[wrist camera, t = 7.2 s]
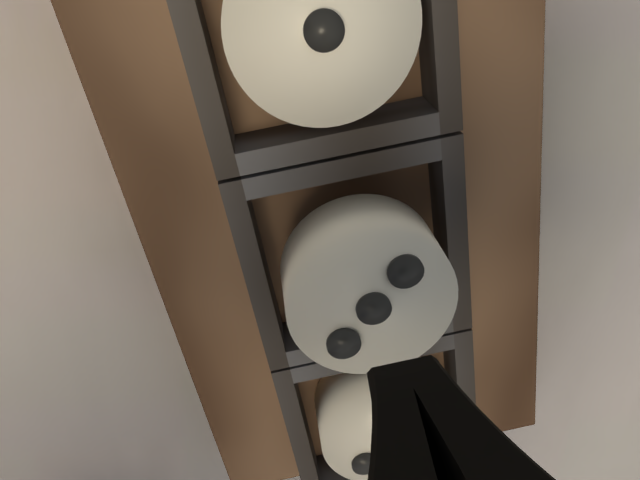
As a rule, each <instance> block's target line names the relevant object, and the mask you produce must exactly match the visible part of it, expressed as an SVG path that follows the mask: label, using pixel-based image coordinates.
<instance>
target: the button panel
mask: <svg viewBox="0 0 640 480" xmlns="http://www.w3.org/2000/svg"><path fill="white" fill-rule="evenodd" d="M51 3H52V5H53V8H54V11H55V13H56V16H57V19H58V21H59V24H60V27H61V29H62V32H63V35H64V38H65V40H66V43H67V46H68V48H69V51H70V54H71V56H72V59H73V62H74V64H75V67H76V70H77V72H78V75H79V78H80V80H81V83H82V86H83V88H84V91H85V94H86V96H87V99H88V102H89V104H90V107H91V110H92V112H93V115H94V118H95V120H96V123H97V126H98V128H99V131H100V134H101V136H102V139H103V142H104V144H105V147H106V150H107V152H108V155H109V158H110V160H111V163H112V166H113V168H114V171H115V174H116V176H117V179H118V182H119V184H120V187H121V190H122V192H123V195H124V198H125V200H126V203H127V206H128V208H129V211H130V214H131V216H132V219H133V222H134V225H135V227H136V230H137V233H138V235H139V238H140V241H141V243H142V246H143V249H144V251H145V254H146V257H147V259H148V262H149V265H150V267H151V270H152V273H153V275H154V278H155V281H156V283H157V286H158V289H159V291H160V294H161V297H162V299H163V302H164V305H165V307H166V310H167V313H168V315H169V318H170V321H171V323H172V326H173V329H174V331H175V334H176V337H177V339H178V342H179V345H180V347H181V350H182V353H183V355H184V358H185V361H186V363H187V366H188V369H189V371H190V374H191V377H192V379H193V382H194V385H195V387H196V390H197V393H198V395H199V398H200V401H201V403H202V406H203V409H204V412H205V414H206V417H207V420H208V422H209V425H210V428H211V430H212V433H213V436H214V438H215V441H216V444H217V446H218V449H219V452H220V454H221V457H222V460H223V462H224V465H225V468H226V470H227V473H228V476H229V478H230V480H283V479H287V478H292V477H296V476H300V479H301V480H350V479H347V478H345V477H343V476H341V475H339V474H338V473H336V472H335V471H334V470H333V469H332V468H331V467H330V466H329V465H328V464H327V462H326V460H325V459H324V456H323V453H322V448H321V441H320V435H319V429H318V422H317V416H316V410H315V403H314V396H315V391H316V388H317V385H318V383H319V381H320V379H321V378H323V377H327V376H332V375H337V374H341V373H343V372H339V371H335V370H331V369H329V368H326V367H324V366H322V365H320V364H318V363H316V362H314V361H313V360H311V359H310V358H309V357H307V356H306V355H305V354H304V353H303V352H302V351H301V350H300V349H299V348H298V346H297V345H296V344H295V342H294V340H293V338H292V337H291V335H290V332H289V329H288V326H287V321H286V315H285V307H284V298H283V290H282V282H281V274H280V263H281V257H282V253H283V249H284V246H285V244H286V242H287V240H288V237H289V236H290V234H291V233H292V231H293V230H294V228H295V227H296V226H297V225H298V224H299V222H300V221H301V220H302V219H304V218H305V217H306V216H307V215H308V214H309V213H311V212H312V211H313V210H315V209H316V208H318V207H320V206H321V205H323V204H325V203H327V202H330V201H332V200H335V199H337V198H341V197H344V196H349V195H356V194H376V195H383V196H387V197H391V198H393V199H396V200H399V201H401V202H403V203H404V204H406V205H408V206H409V207H411V208H412V209H413V210H415V211H416V212H417V213H418V214H419V215H420V216H421V217H422V218H423V220H424V221H425V223H426V224H427V225H428V227H429V229H430V230H431V232H432V234H433V235H434V237H435V239H436V240H437V242H438V243H439V245H440V247H441V248H442V250H443V252H444V253H445V255H446V257H447V258H448V260H449V261H450V263H451V265H452V267H453V269H454V271H455V275H456V278H457V283H458V302H457V308H456V311H455V314H454V317H453V319H452V321H451V323H450V325H449V327H448V328H447V330H446V331H445V333H444V334H443V335H442V337H441V338H440V339H439V340H438V341H437V342H436V343H435V344H434V345H433V346H432V347H431V348H430V349H429V350H427V351H426V352H425V353H424V354H422V355H421V356H419V357H423V356H428V355H432V356H433V357H435V358H437V360H438V361H439V362H440V364H441V365H442V366H443V368H444V369H445V370H446V371H447V373H448V374H449V375H450V376H451V377H452V379H453V380H454V381H455V382H456V383H457V385H458V386H459V387H460V388H461V389H462V390H463V391H464V392H465V394H466V395H467V396H468V397H469V398H470V399H471V400H472V401H473V402H474V403H475V405H476V406H477V407H478V408H479V409H480V410H481V411H482V412H483V413H484V414H485V415H486V416H487V417H488V418H489V419H490V420H491V421H492V422H493V423H494V424H495V425H496V426H497V427H498V428H499V429H500V430H501V431H506V430H511V429H515V428H520V427H524V426H529V425H533V424H535V397H536V356H537V316H538V276H539V235H540V195H541V154H542V114H543V74H544V33H545V0H421V7H422V31H421V39H420V43H419V48H418V52H417V54H416V57H415V60H414V63H413V65H412V67H411V69H410V71H409V73H408V75H407V77H406V78H405V80H404V81H403V83H402V84H401V86H400V87H399V88H398V89H397V91H396V92H395V93H394V94H393V95H392V96H391V97H390V98H389V99H388V100H387V101H386V102H385V103H384V104H383V105H382V106H380V107H379V108H377V109H376V110H375V111H373V112H372V113H370V114H368V115H367V116H365V117H363V118H361V119H359V120H356V121H354V122H351V123H348V124H344V125H341V126H335V127H328V128H311V127H303V126H299V125H295V124H291V123H288V122H285V121H283V120H280V119H278V118H276V117H275V116H273V115H271V114H269V113H268V112H266V111H265V110H263V109H262V108H261V107H259V106H258V105H257V104H256V103H255V102H254V101H253V100H252V99H251V98H250V97H249V96H248V95H247V94H246V93H245V91H244V90H243V89H242V88H241V86H240V85H239V83H238V82H237V80H236V78H235V77H234V75H233V73H232V71H231V69H230V66H229V64H228V61H227V58H226V55H225V52H224V47H223V42H222V36H221V13H222V4H223V0H51Z"/></svg>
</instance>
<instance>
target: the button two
mask: <svg viewBox="0 0 640 480" xmlns="http://www.w3.org/2000/svg"><path fill="white" fill-rule="evenodd" d="M418 358H419V357H418ZM314 403H315V410H316V416H317V422H318V429H319V435H320V441H321V448H322V453H323V456H324V459H325V460H326V462H327V464H328V465H329V466H330V467H331V468H332V469H333V470H334V471H335V472H336V473H338V474H339V475H341V476H343V477H345V478H347V479H350V480H368V473H369V465H370V453H371V433H372V402H371V395H370V390H369V384H368V378H367V374H350V373H341V374H337V375H332V376H327V377H323V378H321V379H320V381H319V383H318V385H317V388H316V391H315V396H314Z"/></svg>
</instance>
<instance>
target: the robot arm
mask: <svg viewBox="0 0 640 480" xmlns="http://www.w3.org/2000/svg"><path fill="white" fill-rule="evenodd" d="M367 378H368V384H369V390H370V395H371V402H372V433H371V453H370V465H369V473H368V480H556V479H554V478H553V477H552V476H551V475H550V474H548V473H547V472H546V471H545V470H544V469H543V468H541V467H540V466H539V465H538V464H537V463H536V462H535V461H533V460H532V459H531V458H530V457H529V456H528V455H527V454H526V453H524V452H523V451H522V450H521V449H520V448H519V447H518V446H517V445H516V444H515V443H514V442H512V441H511V440H510V439H509V438H508V437H507V436H506V435H505V434H504V433H503V432H502V431H501V430H500V429H499V428H498V427H497V426H496V425H495V424H494V423H493V422H492V421H491V420H490V419H489V418H488V417H487V416H486V415H485V414H484V413H483V412H482V411H481V410H480V409H479V408H478V407H477V406H476V405H475V403H474V402H473V401H472V400H471V399H470V398H469V397H468V396H467V395H466V394H465V392H464V391H463V390H462V389H461V388H460V387H459V386H458V385H457V383H456V382H455V381H454V380H453V379H452V377H451V376H450V375H449V374H448V373H447V371H446V370H445V369H444V368H443V366H442V365H441V364H440V362H439V361H438V360H437V358H435V357H433V356H432V355H428V356H423V357H419V358H414V359H409V360H405V361H400V362H395V363H391V364H386V365H381V366H377V367H372V368H371V369H370V370H369V371H368V372H367Z"/></svg>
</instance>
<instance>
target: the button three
mask: <svg viewBox="0 0 640 480" xmlns="http://www.w3.org/2000/svg"><path fill="white" fill-rule="evenodd" d="M280 274H281V282H282V290H283V298H284V307H285V315H286V321H287V326H288V329H289V332H290V335H291V337H292V338H293V340H294V342H295V344H296V345H297V346H298V348H299V349H300V350H301V351H302V352H303V353H304V354H305V355H306V356H307V357H309V358H310V359H311V360H313V361H314V362H316V363H318V364H320V365H322V366H324V367H326V368H329V369H331V370H335V371H339V372H343V373H350V374H367V372H368V371H369V370H370V369H371V368H372V367H377V366H381V365H386V364H391V363H395V362H400V361H405V360H409V359H414V358H418V357H419V356H421V355H422V354H424V353H425V352H426V351H427V350H429V349H430V348H431V347H432V346H433V345H434V344H435V343H436V342H437V341H438V340H439V339H440V338H441V337H442V335H443V334H444V333H445V331H446V330H447V328H448V327H449V325H450V323H451V321H452V319H453V317H454V314H455V311H456V308H457V302H458V283H457V278H456V275H455V271H454V269H453V267H452V265H451V263H450V261H449V260H448V258H447V257H446V255H445V253H444V252H443V250H442V248H441V247H440V245H439V243H438V242H437V240H436V239H435V237H434V235H433V234H432V232H431V230H430V229H429V227H428V225H427V224H426V223H425V221H424V220H423V218H422V217H421V216H420V215H419V214H418V213H417V212H416V211H415V210H413V209H412V208H411V207H409V206H408V205H406V204H404V203H403V202H401V201H399V200H396V199H393V198H391V197H387V196H383V195H376V194H356V195H349V196H344V197H341V198H337V199H335V200H332V201H330V202H327V203H325V204H323V205H321V206H320V207H318V208H316V209H315V210H313V211H312V212H311V213H309V214H308V215H307V216H306V217H305V218H304V219H302V220H301V221H300V222H299V224H298V225H297V226H296V227H295V228H294V230H293V231H292V233H291V234H290V236H289V237H288V240H287V242H286V244H285V246H284V249H283V253H282V257H281V263H280Z"/></svg>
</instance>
